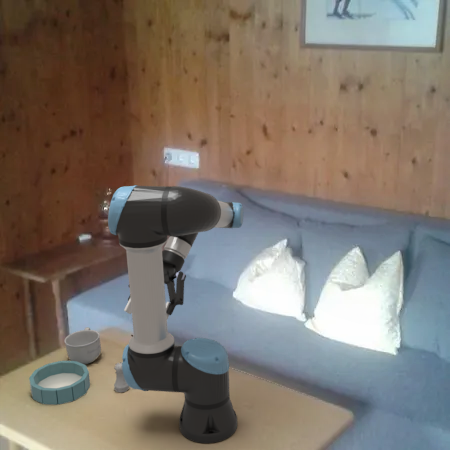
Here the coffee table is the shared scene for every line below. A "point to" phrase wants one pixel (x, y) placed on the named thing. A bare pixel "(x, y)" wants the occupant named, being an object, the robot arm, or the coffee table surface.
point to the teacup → (83, 346)
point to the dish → (59, 382)
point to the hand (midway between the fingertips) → (143, 318)
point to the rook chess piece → (120, 379)
